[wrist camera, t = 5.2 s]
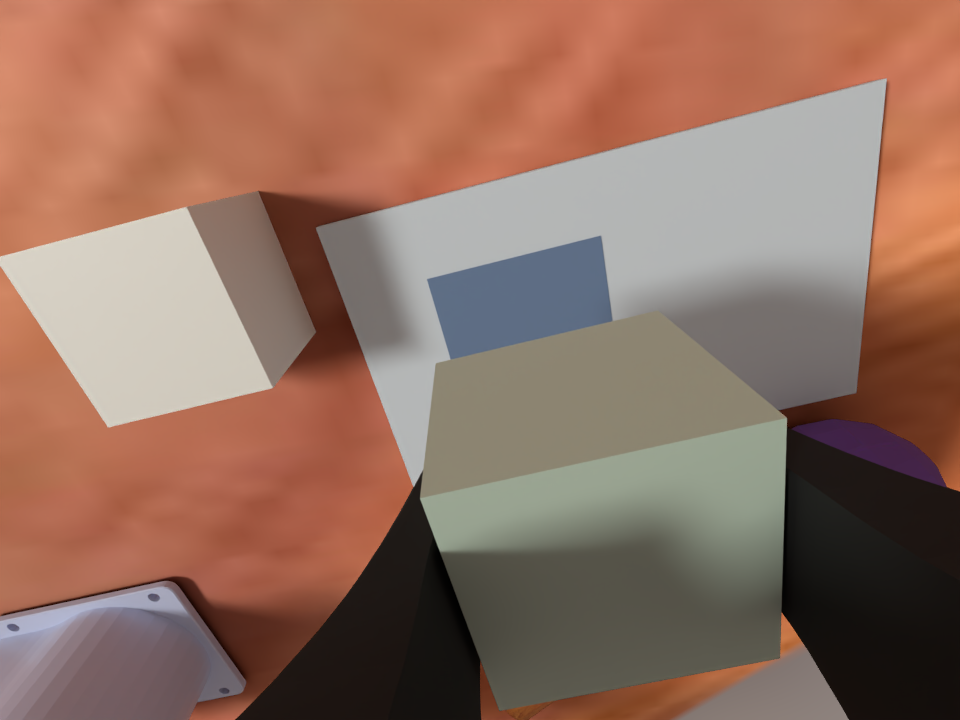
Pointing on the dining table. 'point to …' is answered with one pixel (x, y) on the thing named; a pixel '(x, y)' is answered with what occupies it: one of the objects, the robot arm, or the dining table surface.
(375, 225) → the grey base plate
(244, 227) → the block top
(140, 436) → the dining table surface
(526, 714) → the kendama
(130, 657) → the robot arm
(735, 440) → the block base
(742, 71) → the dining table surface
